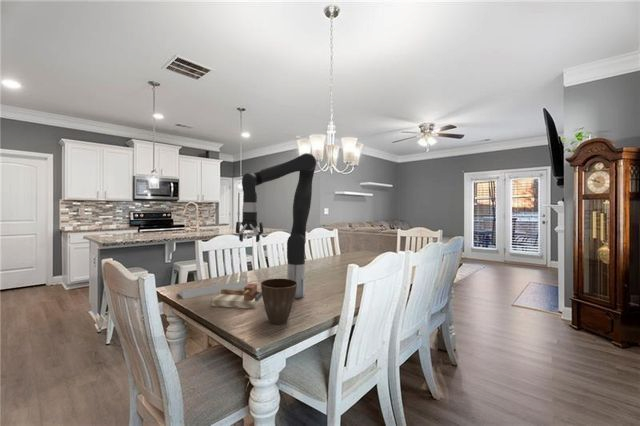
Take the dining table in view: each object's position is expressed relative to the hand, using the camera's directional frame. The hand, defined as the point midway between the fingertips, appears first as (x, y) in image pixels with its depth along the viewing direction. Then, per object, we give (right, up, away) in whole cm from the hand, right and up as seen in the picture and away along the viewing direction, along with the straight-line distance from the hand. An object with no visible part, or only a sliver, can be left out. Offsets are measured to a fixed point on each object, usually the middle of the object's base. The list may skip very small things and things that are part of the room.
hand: (249, 241), depth 159 cm
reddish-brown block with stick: (+4, -26, -17) cm, 31 cm away
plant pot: (+20, -30, -34) cm, 50 cm away
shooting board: (-2, -29, -14) cm, 32 cm away
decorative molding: (-20, -28, +5) cm, 35 cm away
